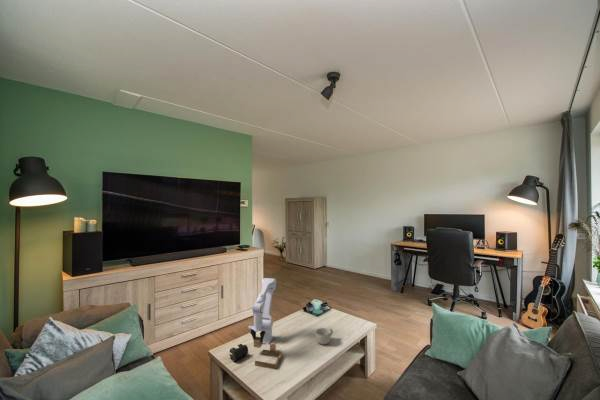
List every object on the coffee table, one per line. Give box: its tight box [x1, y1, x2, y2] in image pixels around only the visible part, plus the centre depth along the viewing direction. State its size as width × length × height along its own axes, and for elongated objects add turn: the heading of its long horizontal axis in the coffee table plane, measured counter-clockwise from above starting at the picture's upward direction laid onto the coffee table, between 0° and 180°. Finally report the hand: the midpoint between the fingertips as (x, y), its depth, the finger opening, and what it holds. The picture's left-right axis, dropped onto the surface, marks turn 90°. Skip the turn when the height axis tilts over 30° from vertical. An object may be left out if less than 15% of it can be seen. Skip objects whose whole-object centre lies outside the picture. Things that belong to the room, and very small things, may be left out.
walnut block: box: [253, 336, 264, 349], centre depth 171 cm, size 4×4×4 cm
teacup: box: [315, 327, 334, 346], centre depth 184 cm, size 14×11×8 cm
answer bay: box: [254, 349, 283, 370], centre depth 162 cm, size 13×14×2 cm
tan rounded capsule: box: [269, 342, 277, 352], centre depth 172 cm, size 4×4×5 cm
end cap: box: [229, 343, 249, 362], centre depth 165 cm, size 10×7×7 cm
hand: (258, 341), depth 171 cm, fingers closed on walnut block, 4 cm apart
